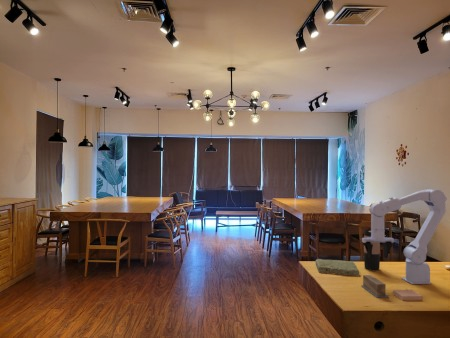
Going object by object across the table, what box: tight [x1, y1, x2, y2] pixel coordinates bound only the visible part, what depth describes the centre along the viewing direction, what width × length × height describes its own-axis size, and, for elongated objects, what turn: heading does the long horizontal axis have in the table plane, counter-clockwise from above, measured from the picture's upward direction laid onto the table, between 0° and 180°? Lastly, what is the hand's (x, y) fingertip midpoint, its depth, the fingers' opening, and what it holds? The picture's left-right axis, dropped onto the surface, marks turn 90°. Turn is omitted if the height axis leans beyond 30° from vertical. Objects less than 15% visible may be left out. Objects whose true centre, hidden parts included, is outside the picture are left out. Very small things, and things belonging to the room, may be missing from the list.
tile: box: [392, 289, 423, 301], centre depth 132 cm, size 8×2×7 cm
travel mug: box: [363, 229, 381, 272], centre depth 171 cm, size 8×8×20 cm
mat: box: [361, 284, 389, 299], centre depth 138 cm, size 5×13×1 cm, turn 3°
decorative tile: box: [315, 258, 360, 277], centre depth 169 cm, size 19×20×4 cm
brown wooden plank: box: [362, 274, 387, 296], centre depth 138 cm, size 4×12×4 cm, turn 3°
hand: (377, 257), depth 153 cm, fingers open, 7 cm apart
